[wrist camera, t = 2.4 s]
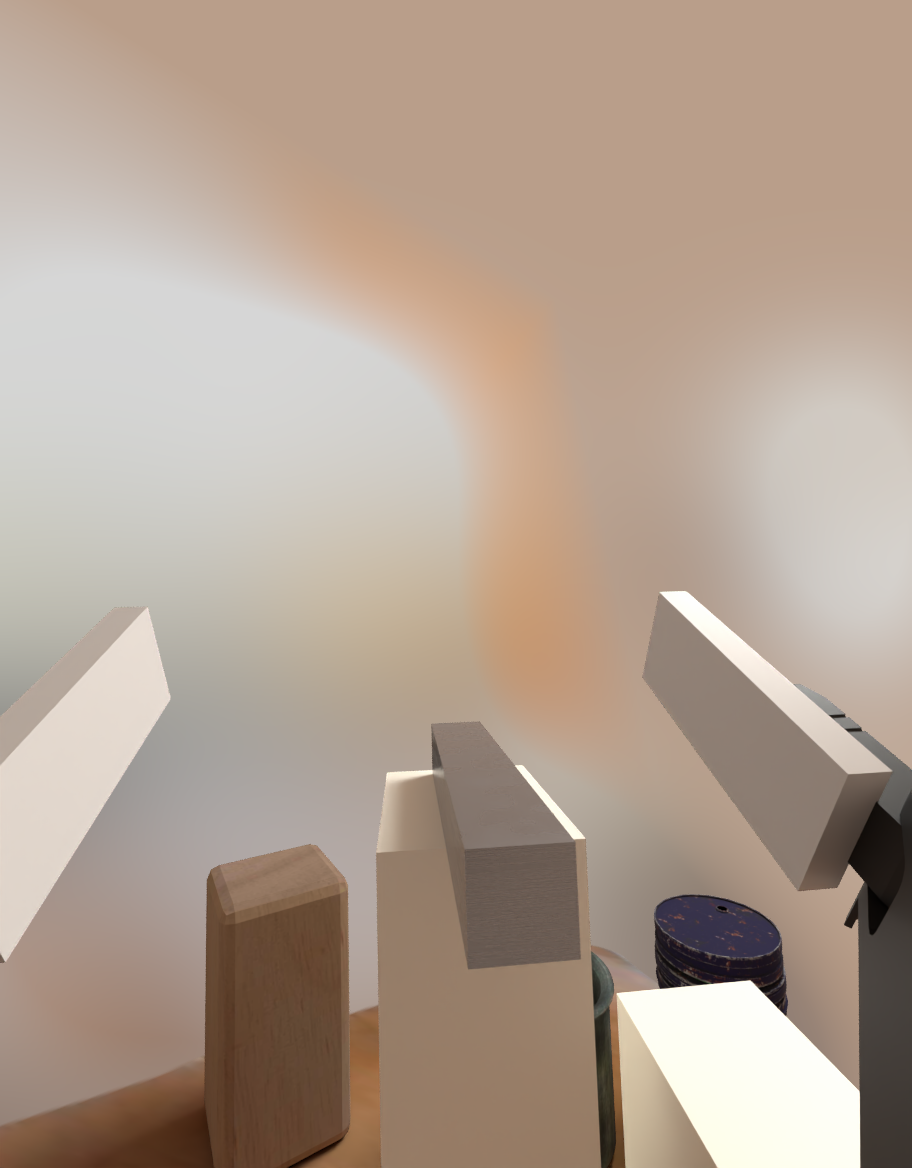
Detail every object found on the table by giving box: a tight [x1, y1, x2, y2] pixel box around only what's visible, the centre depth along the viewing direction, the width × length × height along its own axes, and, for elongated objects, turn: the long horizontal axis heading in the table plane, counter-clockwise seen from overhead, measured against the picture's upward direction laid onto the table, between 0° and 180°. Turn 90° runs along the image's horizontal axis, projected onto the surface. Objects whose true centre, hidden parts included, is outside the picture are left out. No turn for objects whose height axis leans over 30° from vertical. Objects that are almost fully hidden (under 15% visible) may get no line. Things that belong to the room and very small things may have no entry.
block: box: [204, 844, 350, 1168], centre depth 45 cm, size 10×10×20 cm
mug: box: [591, 952, 616, 1168], centre depth 45 cm, size 11×15×12 cm
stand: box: [376, 765, 601, 1168], centre depth 31 cm, size 10×14×30 cm
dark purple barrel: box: [654, 894, 788, 1016], centre depth 44 cm, size 10×10×15 cm
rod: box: [431, 722, 581, 970], centre depth 27 cm, size 4×22×4 cm, turn 5°
